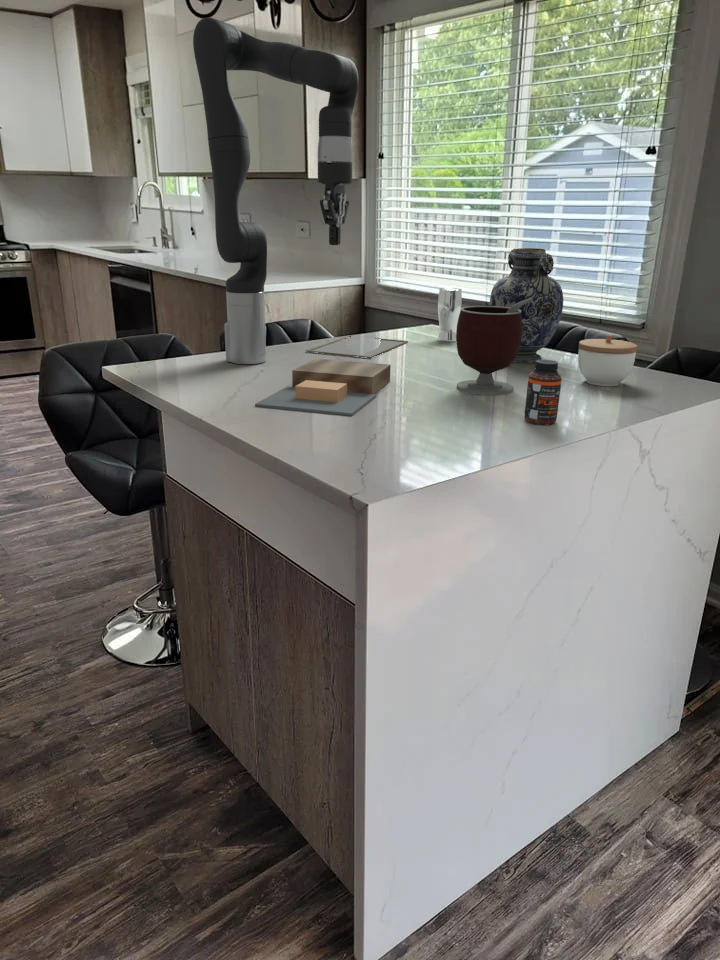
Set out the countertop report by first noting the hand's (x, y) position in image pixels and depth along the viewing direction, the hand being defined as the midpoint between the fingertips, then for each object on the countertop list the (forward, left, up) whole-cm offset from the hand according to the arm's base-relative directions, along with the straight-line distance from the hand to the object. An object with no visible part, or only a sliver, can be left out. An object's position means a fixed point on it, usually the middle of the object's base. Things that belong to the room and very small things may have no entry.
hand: (334, 244), depth 163 cm
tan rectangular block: (+6, -25, -27) cm, 38 cm away
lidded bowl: (+61, +13, -29) cm, 69 cm away
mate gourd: (+37, -3, -29) cm, 47 cm away
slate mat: (+6, -27, -29) cm, 40 cm away
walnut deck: (+6, -12, -29) cm, 32 cm away
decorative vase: (+40, +35, -29) cm, 61 cm away
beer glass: (+16, +57, -29) cm, 66 cm away
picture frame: (-5, +35, -30) cm, 46 cm away
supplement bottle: (+50, -26, -29) cm, 63 cm away
